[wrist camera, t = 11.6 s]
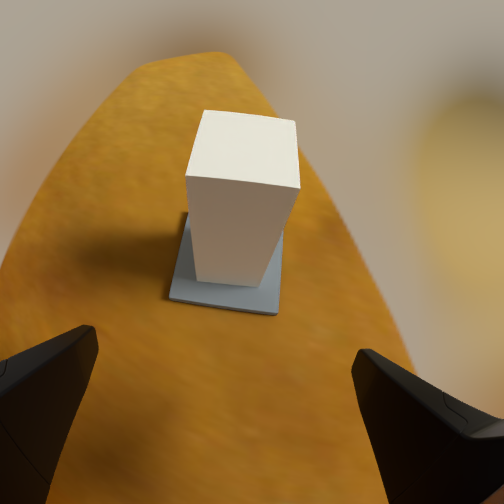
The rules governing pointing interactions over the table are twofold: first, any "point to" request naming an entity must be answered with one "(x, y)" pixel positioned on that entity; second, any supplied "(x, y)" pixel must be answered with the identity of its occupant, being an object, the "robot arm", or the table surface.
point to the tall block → (240, 194)
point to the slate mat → (224, 294)
